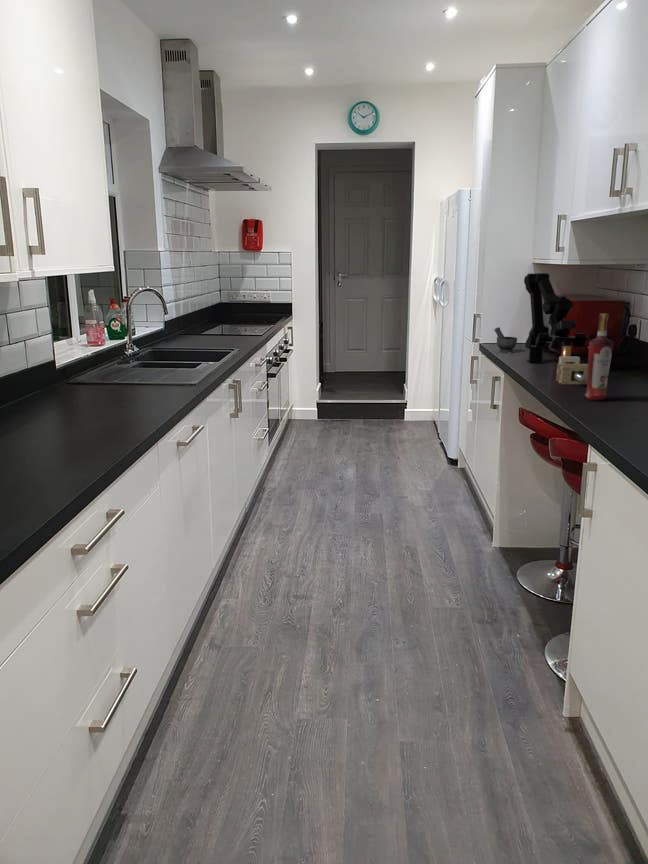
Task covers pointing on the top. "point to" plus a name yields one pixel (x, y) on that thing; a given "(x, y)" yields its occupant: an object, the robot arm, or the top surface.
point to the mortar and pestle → (505, 341)
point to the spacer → (569, 360)
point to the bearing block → (566, 371)
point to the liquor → (599, 362)
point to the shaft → (567, 352)
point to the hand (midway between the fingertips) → (564, 357)
